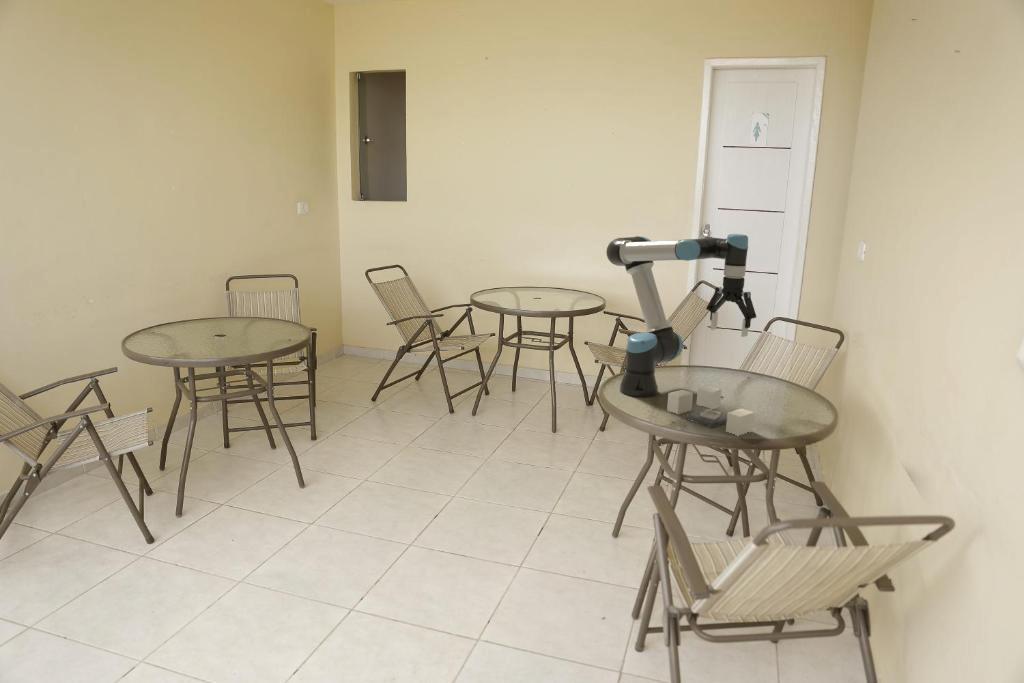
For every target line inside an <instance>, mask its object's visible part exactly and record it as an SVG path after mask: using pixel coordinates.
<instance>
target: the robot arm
mask: <svg viewBox="0 0 1024 683" xmlns="http://www.w3.org/2000/svg"><path fill="white" fill-rule="evenodd" d="M726 236H727V237H726V238H720V237H713V236H702V237H700V238H693V239H692V238H688V239H672V240H671V239H670V240H668V239H667V240H652V241H651V239H649V238H647V237H645V236H639V235H638V236H637V235H636V236H631V237H628V236H627V237H617V238H615V239H612V241H610V242H609V243H608V245H607V246H606V251H605V252H606V257H607V259H608V261H609V262H610V263H611V264H613V265H614V266H617V267H625V271H626V273H627V274H629V275H631V279H632V282H633V285H634V289H635V292H636V296H637V299H638V302H639V306H640V309H641V313H642V317H643V320H644V323H645V327H646V330H645V332H637V333H634V334H631V335H629V336H628V339H627V342H626V352H625V353H626V354H625V355H626V356H625V372H624V375H623V376H622V377H623V378H622V380H621V383H620V384H619V385H620V387H619V391H620V392H621V393H623V394H624V395H626V396H632V397H638V398H646V397H647V398H649V397H652V396H656V395H658V390H659V386H658V385H657V379H656V376H655V374H656V373H655V372H656V370H655V369H656V365H657V364H661V363H668V362H671V361H673V360H676V359H677V358H679V357H680V355H681V353H682V352H683V348H684V344H683V343H684V342H683V338H682V337H681V336H680V334H678V332H676V331H674V328H673V326H672V325H671V324H669V323H668V321H667V318H666V315H665V311H664V308H663V305H662V301H661V297H660V295H659V290H658V287H657V285H656V281H655V277H654V274H653V270H652V268H653V266H654V261H685V262H686V261H688V262H689V261H694V260H706V259H721V260H724V265H723V266H724V268H723V278H722V286H718V287H715V289H714V294H713V295H712V297H711V299H710V301H709V302H708V304H707V306H706V308H705V309H706V311H707V310H708V311H709V312H710V315H709V316H710V318H709V319H710V322H711V323H710V331H715V330H717V329H718V316H719V312H718V310H719V309H720V308H721V307H722V306H723V305H724V304H725V303H726V302H732V303H735V304H736V305H737V307H738V308H739V310H740V312H741V313H742V316H743V317H744V318H743V319H742V326H741V333H740V334H741V336H740V337H741V338H742V337H748V334H749V333H748V332H749V329H750V327H751V321H752V319H756V318H757V314H756V311H755V307H754V305H753V301H752V298H751V297H752V296H751V295H752V294H751V291H746V292H745V291H744V288H745V278H744V277H746V268H747V257H748V251H749V236H748V235H747V234H743V233H742V234H740V233H730V234H727V235H726ZM721 294H722V296H721ZM720 296H721V297H720Z"/></svg>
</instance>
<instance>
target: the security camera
mask: <svg viewBox="0 0 1024 683" xmlns="http://www.w3.org/2000/svg"><path fill="white" fill-rule="evenodd" d="M696 394H697V395H696V406H701V407H705V408H707V410H705V411H703V412H701V413H700V416H701V417H705V418H709V419H713V420H715V419H716V418H718V417H720V416H721V414H722V413H721V412H719V411H716V410H714V409H717V408H718V407H720V405H721V402H722V401H721V399H722V389H721V388H718V387H713V386H708V385H703V386H701V387H700V388H698V389H697V392H696Z"/></svg>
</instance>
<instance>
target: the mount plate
mask: <svg viewBox="0 0 1024 683" xmlns="http://www.w3.org/2000/svg"><path fill="white" fill-rule="evenodd" d="M707 409H708V408H707ZM707 409H706V408H703V409H699V410H696V411H691V412H689V413H687V414H686V420H688V419H690V420H693V421H695V422H694V423H696V422H698V423H697V424H699V423H700V424H699V425H702V424H703V425H702V426H704V425H706V426H705V427H707V426H709V427H708V428H710V427H711V428H710V429H713V427H714V428H716V426H717V427H720V426H723V425H725V424H727V415H724V414H722V413H721V416H720V417H718V418H716V419H715V420H713V419H709V418H705V417H701V416H700V413H701V412H703V411H705V410H707ZM690 420H689V421H690ZM693 421H692V422H693Z"/></svg>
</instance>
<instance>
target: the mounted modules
mask: <svg viewBox="0 0 1024 683" xmlns="http://www.w3.org/2000/svg"><path fill="white" fill-rule="evenodd" d="M693 395H694V392H691V391H688V390H685V389H680V390H675V391H671V392H668V395H667V408H666V410H667V411H666V412H669V411H670V412H669V413H671V412H673V413H672V414H674V413H676V414H675V415H677V414H678V415H681V414H680V413H682V414H684V413H683V412H685V413H688V412H687V411H689V412H692V411H691V410H693V407H692V406H693V397H694V396H693ZM754 415H755V412H754V411H751V410H747V409H745V408H739V409H735V410H732V411H729V412H727V415H726V416H727V423H726V425H725V433H727V432H729V433H728V434H730V433H732V434H731V435H733V434H735V435H734V436H736V435H741V436H743V435H745V434H744V433H746V434H748V433H747V432H749V433H751V432H750V431H752V432H753V425H754V424H753V423H754V417H755V416H754ZM742 434H743V435H742Z"/></svg>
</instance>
